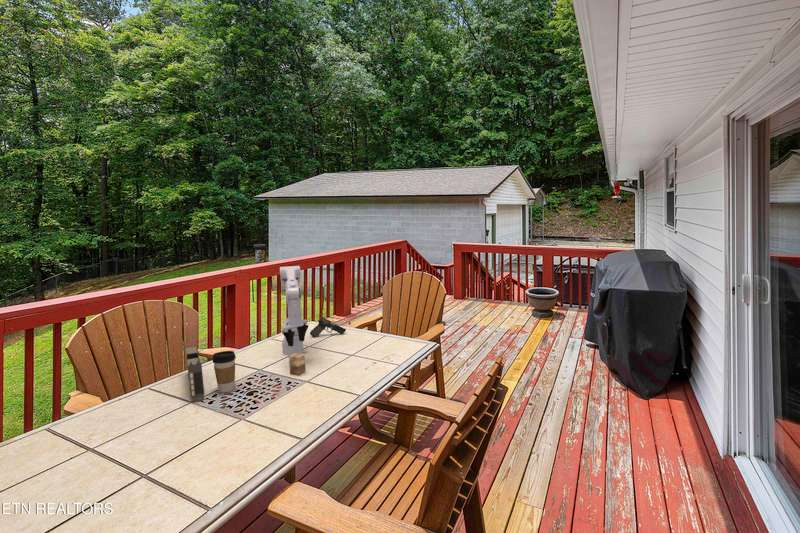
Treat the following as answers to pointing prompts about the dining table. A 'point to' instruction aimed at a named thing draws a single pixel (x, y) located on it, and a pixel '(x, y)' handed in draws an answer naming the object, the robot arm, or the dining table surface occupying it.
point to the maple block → (296, 359)
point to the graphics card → (195, 374)
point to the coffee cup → (225, 370)
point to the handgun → (323, 324)
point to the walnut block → (297, 370)
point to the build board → (298, 376)
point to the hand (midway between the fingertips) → (296, 343)
